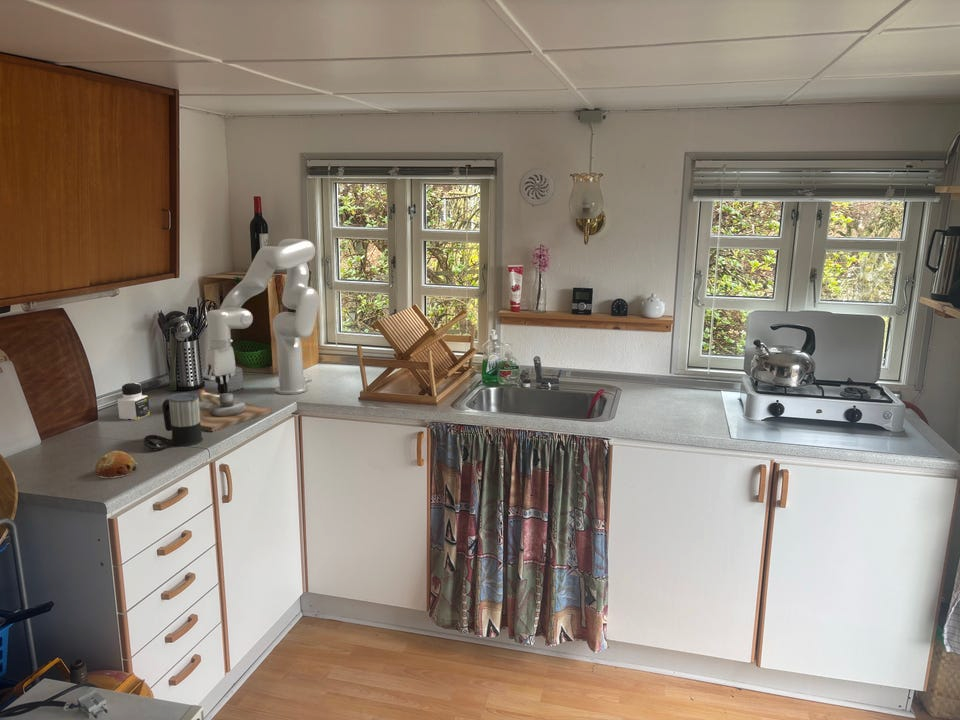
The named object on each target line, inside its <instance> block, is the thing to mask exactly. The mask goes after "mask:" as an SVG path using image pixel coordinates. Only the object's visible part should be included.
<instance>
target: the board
mask: <svg viewBox="0 0 960 720" xmlns="http://www.w3.org/2000/svg"><path fill="white" fill-rule="evenodd" d="M244 403H245V402H244ZM209 406H210V405H208V406H205V407H201V408H199V409H200V424H201V429H204V430H203V431H206V430H208V431H207V432H210V431H213V432H216V431H219V430H222V429H221V428H223V429H225V428H224V427H226V428H228V427H227V426H229V427H231V426H230V425H232V426H234V425H233V424H235V425H237V424H236V423H238V424H240V423H239V422H241V423H243V422H242V421H244V422H246V421H245V420H247V421H249V420H248V419H250V420H252V418H253V419H256V418H259V417H262V416H265V415H269V414H271V413H272V408H271V407H267V406H262V405H261V406H260V405H256V404H250V403H245V411H244V412H242V413H240V414H236V415H230V416H214V415H211V414H210V413H209ZM258 416H259V417H258ZM255 417H256V418H255ZM218 429H219V430H218ZM215 430H216V431H215Z"/></svg>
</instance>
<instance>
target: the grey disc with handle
mask: <svg viewBox="0 0 960 720" xmlns="http://www.w3.org/2000/svg"><path fill="white" fill-rule="evenodd" d="M197 394H198V395H199V403H200V402H201V403H206V404H211V405H208V406H209V413H210V414H211V415H214V416H230V415H236V414H240V413H242V412H244V411H245V402H243V401H237V400H235V401H234V394H233V393H231V392H228V393H224V394H215V393H212V392H211V393H210V392H206V389H204V388H203V389H202V388H201V389H198V391H197Z"/></svg>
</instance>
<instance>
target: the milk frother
mask: <svg viewBox="0 0 960 720" xmlns="http://www.w3.org/2000/svg"><path fill="white" fill-rule="evenodd" d="M161 405H162V406H161V407H162V414H163V420H164V428H165V430H166V431H167V432H171V439H169V438H167V437H164V436H161V435H158V434H149V435H146V436H145V437H144V438H143V445H144V446H145V448H148V449H150V450H152V451H155V450H157V451H158V450H163V449H166V448H167V447H168V445H169V442H168V441H170V442H171V444H172V445H174V446H177V447H183V446H184V447H185V446H186V447H187V446H192V445H197V444H199V442H200V443H201V442H203V441H204V438H203V435H202V434H203V433H202V430H201V424H200V409H201V408H200V401H199V394H198V393H194V392H182V393H177V394H173V395H170V396H168V397H167V398H166V399H165V400H163V402H162V404H161ZM159 441H161V442H162V443H163V444H161V445H159V443H160V442H159Z"/></svg>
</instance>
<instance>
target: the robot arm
mask: <svg viewBox="0 0 960 720" xmlns="http://www.w3.org/2000/svg"><path fill="white" fill-rule="evenodd" d="M315 255H316V247H315V245H314V243H313V242H311V241H310V240H308V239H302V238H285V239H282V240H281V241H280V242H279V243H278V245H277V246H274V245H273V246H270V245H268V246H263V247H261V248H259V250H257V253H256V254H255V256H254V258H253V260H252V262H251V264H250V265H249V268H248V269H247V272H246V274H245V276H244V277H243V279H242V280H241V281H240V282H239V283H237V284H236V285H235V286H234V287H233V288H232V289H231V290H230V291H229V292H228V293H227V294H226V296H225V298H224V299H223V301H222V303H221V305H220V307H219V309H213V310H209V311H207V315H206V318H207V335H208V348H207V349H206V355H205V374H206V375H207V376H208V380H209V381H210V380H211V381H214V382H215V383H216V384H217V393H218V395H220V394H224V393H229V392H228V389H227V383H228V382H229V379H230V377H232V376H233V375H235V373H234V372H235V369H236V367H237V366H236V359H235V358H236V357H235V353H234V348H233V346H232V343H233V339H231V337H232V336H231V330H232V329H235V330H237V329H238V330H239V329H240V330H243V329H247V328H249V327H250V326H251V325H252V323H253V320H254V316H253V314H252V313H251V311H249V310H248V309H246V308H242V306H243V305H244V303H246V301H248V300H249V299H250V298H252V297H254V296H257V295H259V294H260V293H263V292H264V291H265V290H266V289H267V287H268V285H269V283H270V281H271V278H272V277H273V275H274V273H275V271H276V270H277V271H278V270H279V271H281V270H286V278H285V282H284V285H283V286H284V288H283V292H282V296H281V302H282V305H283V306H284V307H286V308H287V309H289V310H295V312H291V311H281V312H279V313H278V314H276V315H275V316H274V318H273V322H272V330H273V334H274V338H275V343H276V355H277V369H278V383H279V386H277V387H275V392H276V394H279V395H296V394H302V393H305V392H307V391H308V390H309V385H307V383H310V382H312V381H313V378H312V377H311V376H309V377H304V366H303V364H304V363H303V347H302V342H301V339H302V340H304V339H307V338H309V337H310V336H311V335H312V333H313V331H314V329H315V326H316V319H317V317H318V311H319V307H320V296H319V294H318V292H317V290H316V289H315V288H313V287H311V286H309V278H310V270H309V266H308V262H310V261H312V259H314V257H315Z"/></svg>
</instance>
